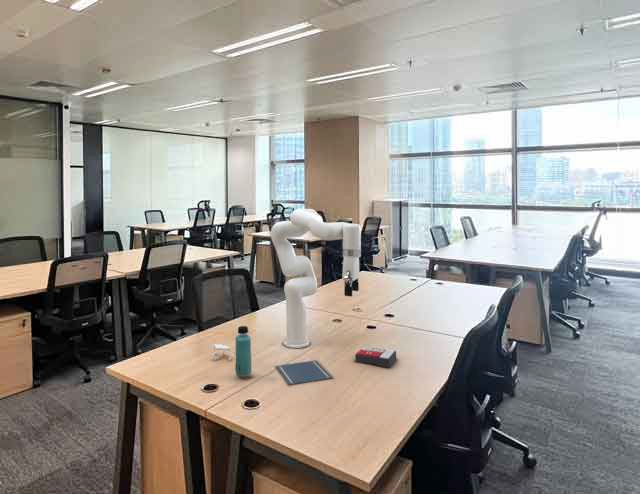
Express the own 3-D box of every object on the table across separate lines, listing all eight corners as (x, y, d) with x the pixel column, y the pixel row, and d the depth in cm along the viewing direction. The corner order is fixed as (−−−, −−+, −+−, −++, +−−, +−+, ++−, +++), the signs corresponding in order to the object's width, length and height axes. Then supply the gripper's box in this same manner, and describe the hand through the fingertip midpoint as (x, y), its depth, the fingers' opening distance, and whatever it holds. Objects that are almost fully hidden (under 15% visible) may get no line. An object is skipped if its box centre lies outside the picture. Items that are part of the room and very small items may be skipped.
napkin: (276, 366, 180) (276, 366, 180) (315, 361, 185) (315, 360, 185) (289, 385, 163) (289, 384, 163) (332, 378, 168) (332, 377, 168)
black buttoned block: (363, 345, 194) (396, 349, 187) (364, 354, 194) (396, 358, 187) (354, 353, 185) (388, 357, 177) (355, 363, 184) (389, 368, 177)
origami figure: (205, 360, 188) (205, 348, 188) (215, 353, 195) (215, 342, 195) (229, 363, 183) (229, 352, 184) (238, 356, 191) (238, 345, 191)
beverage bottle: (254, 374, 172) (254, 325, 172) (247, 381, 166) (247, 330, 166) (239, 372, 174) (239, 323, 174) (232, 379, 168) (232, 328, 168)
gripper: (348, 249, 189) (348, 288, 190) (336, 255, 174) (336, 297, 174) (365, 250, 186) (365, 289, 187) (354, 256, 171) (354, 299, 171)
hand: (351, 293), depth 180 cm, fingers open, 9 cm apart
